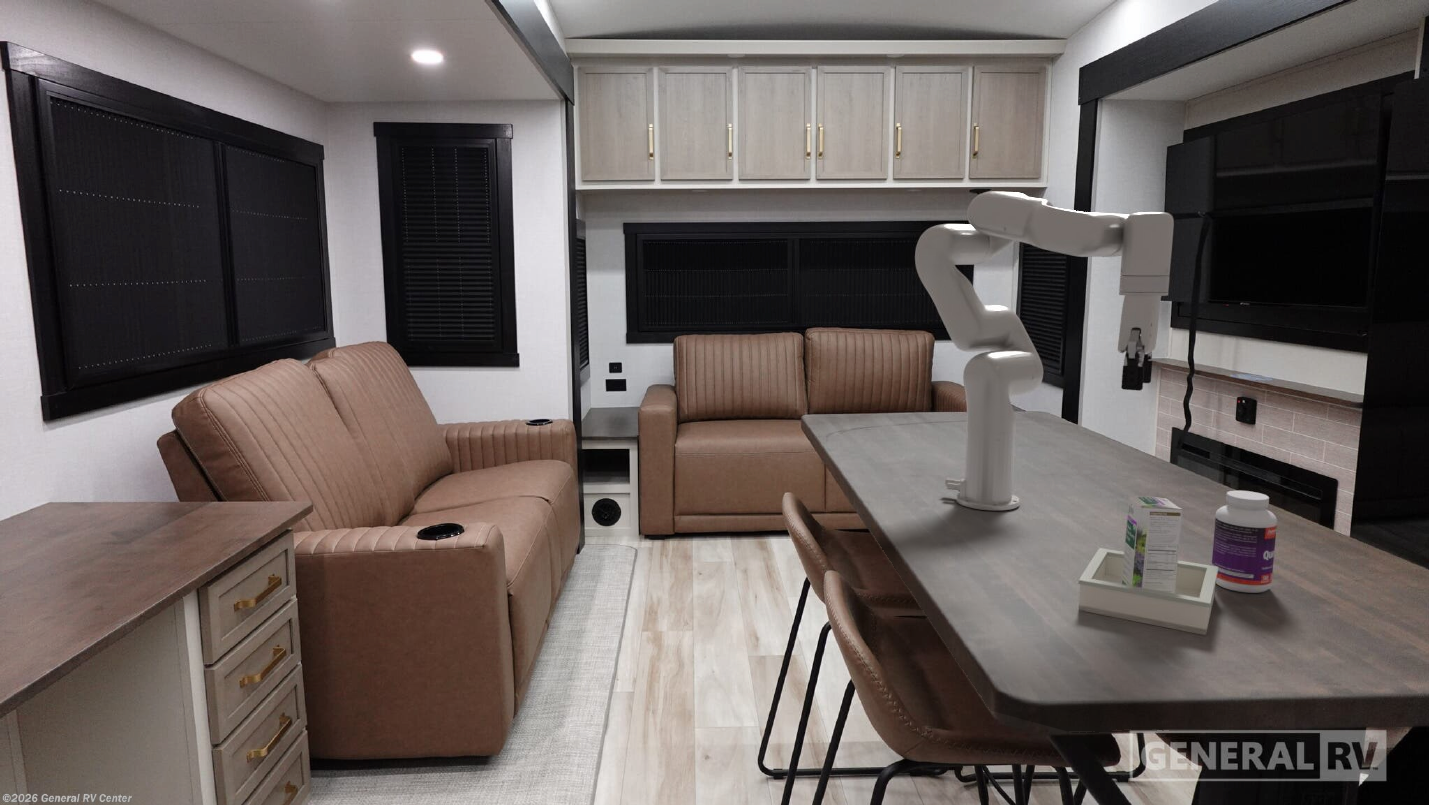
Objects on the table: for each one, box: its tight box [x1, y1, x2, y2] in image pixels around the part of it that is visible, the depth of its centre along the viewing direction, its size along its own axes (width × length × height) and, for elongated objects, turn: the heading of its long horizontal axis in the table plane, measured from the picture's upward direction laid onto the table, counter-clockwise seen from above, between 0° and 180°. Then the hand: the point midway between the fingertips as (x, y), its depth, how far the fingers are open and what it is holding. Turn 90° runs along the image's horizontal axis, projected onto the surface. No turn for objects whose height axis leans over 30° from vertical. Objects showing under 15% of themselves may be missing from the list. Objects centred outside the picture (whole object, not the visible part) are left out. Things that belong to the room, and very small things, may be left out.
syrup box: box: [1122, 496, 1183, 594], centre depth 125 cm, size 6×6×14 cm
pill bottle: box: [1210, 490, 1278, 594], centre depth 131 cm, size 8×8×14 cm
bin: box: [1078, 547, 1218, 636], centre depth 126 cm, size 16×16×5 cm
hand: (1136, 386), depth 149 cm, fingers open, 9 cm apart
